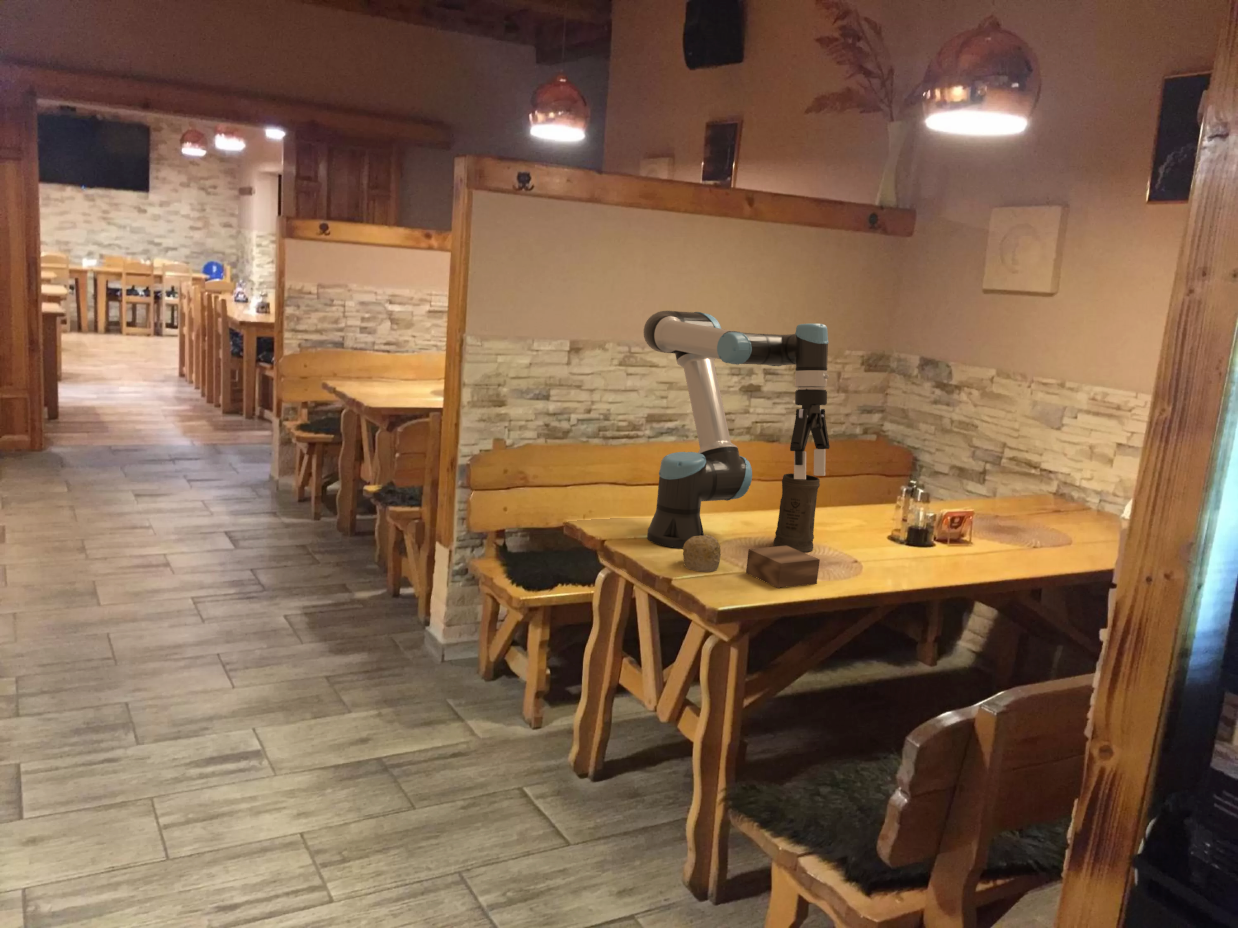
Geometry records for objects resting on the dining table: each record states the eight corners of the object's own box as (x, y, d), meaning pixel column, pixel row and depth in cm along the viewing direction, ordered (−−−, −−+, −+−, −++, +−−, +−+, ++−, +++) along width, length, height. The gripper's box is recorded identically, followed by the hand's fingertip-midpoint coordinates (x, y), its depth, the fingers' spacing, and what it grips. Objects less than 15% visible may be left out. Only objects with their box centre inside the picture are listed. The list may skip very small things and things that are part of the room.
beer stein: (812, 555, 257) (822, 480, 254) (772, 549, 259) (781, 475, 256) (812, 544, 272) (822, 474, 269) (774, 539, 274) (782, 469, 271)
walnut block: (745, 572, 236) (748, 549, 235) (783, 568, 243) (786, 545, 241) (778, 588, 226) (781, 563, 225) (816, 583, 233) (819, 559, 232)
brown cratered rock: (707, 574, 232) (710, 543, 231) (674, 565, 237) (677, 535, 236) (726, 567, 240) (729, 537, 238) (693, 558, 245) (696, 529, 243)
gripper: (808, 388, 221) (806, 481, 222) (842, 389, 242) (841, 474, 243) (776, 388, 225) (775, 480, 226) (813, 389, 246) (812, 473, 247)
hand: (809, 477), depth 235 cm, fingers open, 13 cm apart
